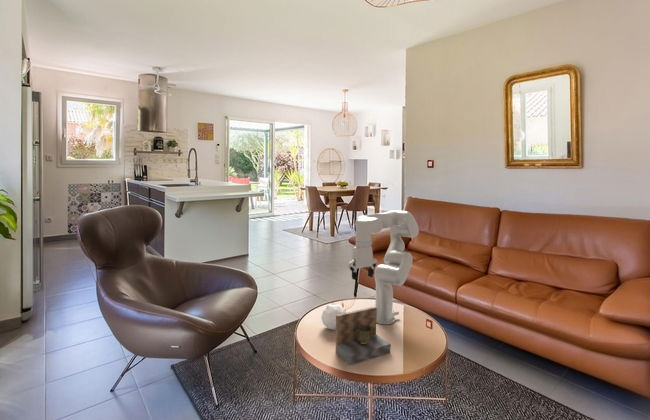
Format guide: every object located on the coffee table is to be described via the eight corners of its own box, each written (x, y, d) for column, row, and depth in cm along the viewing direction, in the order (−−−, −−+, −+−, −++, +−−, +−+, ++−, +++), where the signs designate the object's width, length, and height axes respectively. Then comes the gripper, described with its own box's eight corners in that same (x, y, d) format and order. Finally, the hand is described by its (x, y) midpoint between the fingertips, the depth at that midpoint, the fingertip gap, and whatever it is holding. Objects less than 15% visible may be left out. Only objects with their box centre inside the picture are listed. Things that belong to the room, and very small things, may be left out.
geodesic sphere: (327, 327, 180) (339, 302, 184) (310, 318, 190) (322, 295, 194) (343, 337, 188) (355, 313, 192) (326, 328, 199) (338, 305, 203)
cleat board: (374, 341, 178) (375, 306, 176) (390, 353, 167) (391, 315, 165) (335, 352, 167) (335, 315, 165) (350, 365, 156) (350, 325, 154)
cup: (354, 340, 170) (354, 324, 169) (369, 339, 170) (370, 323, 169) (356, 348, 162) (357, 331, 161) (373, 347, 163) (373, 330, 162)
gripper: (372, 241, 186) (372, 273, 188) (344, 244, 178) (343, 278, 180) (381, 244, 179) (381, 277, 181) (352, 247, 171) (352, 282, 173)
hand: (362, 277), depth 180 cm, fingers open, 9 cm apart
